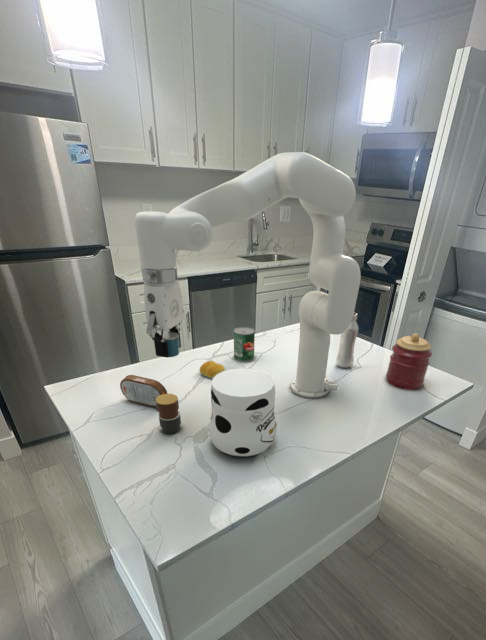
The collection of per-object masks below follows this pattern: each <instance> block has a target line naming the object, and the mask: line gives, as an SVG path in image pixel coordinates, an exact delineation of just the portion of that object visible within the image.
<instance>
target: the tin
mask: <svg viewBox="0 0 486 640" xmlns="http://www.w3.org/2000/svg"><path fill="white" fill-rule="evenodd" d="M119 386H120V390H121V393H122V395H123V396H124V397H125V398H126V399H127V400H129V401H130V402H133V403H136V404H140V405H144V406H148V407H152V408H157V405H156V398H157V397H158V396H160V395H162V394H169V393H168V390H167V389H166V387H165V385H163V384H162V383H161V382H160V381H158V380H156V379H153V378H148V377H143V376H139V375H135V374H128V375H125V377H124V378H123V379H121V380H120V383H119Z"/></svg>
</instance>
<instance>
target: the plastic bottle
mask: <svg viewBox="0 0 486 640" xmlns="http://www.w3.org/2000/svg"><path fill="white" fill-rule="evenodd" d="M357 320H358V313H356V312H354V314H353V318H352V321H351V323H350V325H349V327H348V328H347V329H346V331H344V332H343V333H341V334H340V339H339V340H340V341H339V347H338V352H337V355H336V358H335V361H336V362H335V363H336V366H338V367H340V368H345V369H346V368H351V367H352V366H353V364H354V359H355V358H354V352H355V343H356V340H357V336H358V333H359V329H360V328H359V325H358V323H357Z"/></svg>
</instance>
